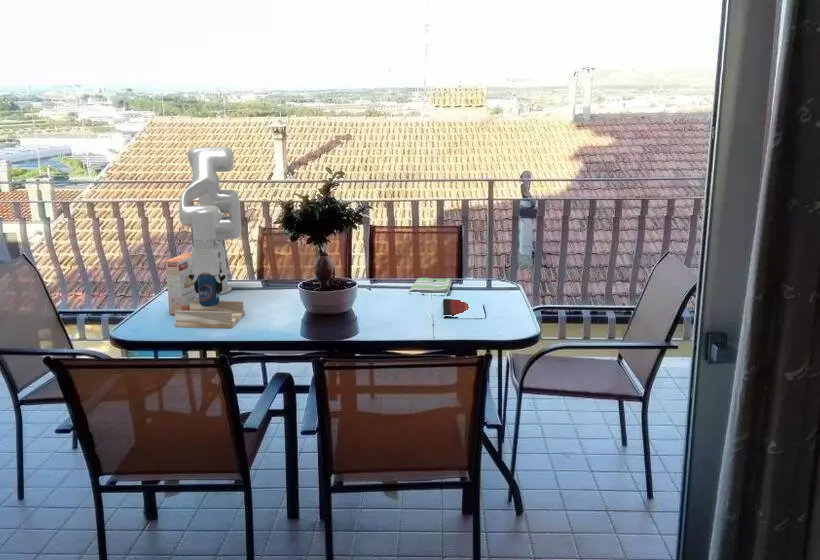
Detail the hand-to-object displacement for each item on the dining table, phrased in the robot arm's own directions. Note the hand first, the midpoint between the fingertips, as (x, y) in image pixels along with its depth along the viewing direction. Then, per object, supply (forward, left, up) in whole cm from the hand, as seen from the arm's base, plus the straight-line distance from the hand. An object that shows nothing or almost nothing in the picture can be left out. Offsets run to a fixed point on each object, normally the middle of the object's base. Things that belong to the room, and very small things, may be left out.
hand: (208, 292), depth 233 cm
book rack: (0, 0, -11) cm, 11 cm away
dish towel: (-52, +79, -12) cm, 95 cm away
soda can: (0, 0, -5) cm, 5 cm away
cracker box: (-12, -14, -11) cm, 22 cm away
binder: (-20, +92, -12) cm, 95 cm away
